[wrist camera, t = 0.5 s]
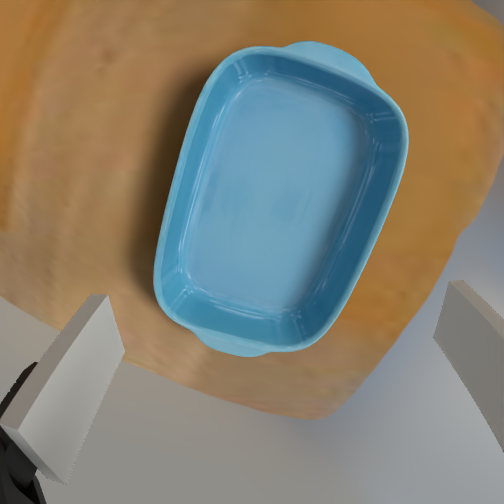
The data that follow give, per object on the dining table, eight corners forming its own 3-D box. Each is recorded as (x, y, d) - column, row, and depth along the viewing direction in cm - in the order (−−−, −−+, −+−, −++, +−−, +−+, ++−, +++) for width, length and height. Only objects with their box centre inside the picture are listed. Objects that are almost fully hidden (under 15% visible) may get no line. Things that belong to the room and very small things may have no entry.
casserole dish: (303, 342, 46) (309, 375, 39) (155, 303, 43) (140, 332, 37) (403, 98, 32) (432, 94, 26) (230, 32, 30) (224, 12, 23)
